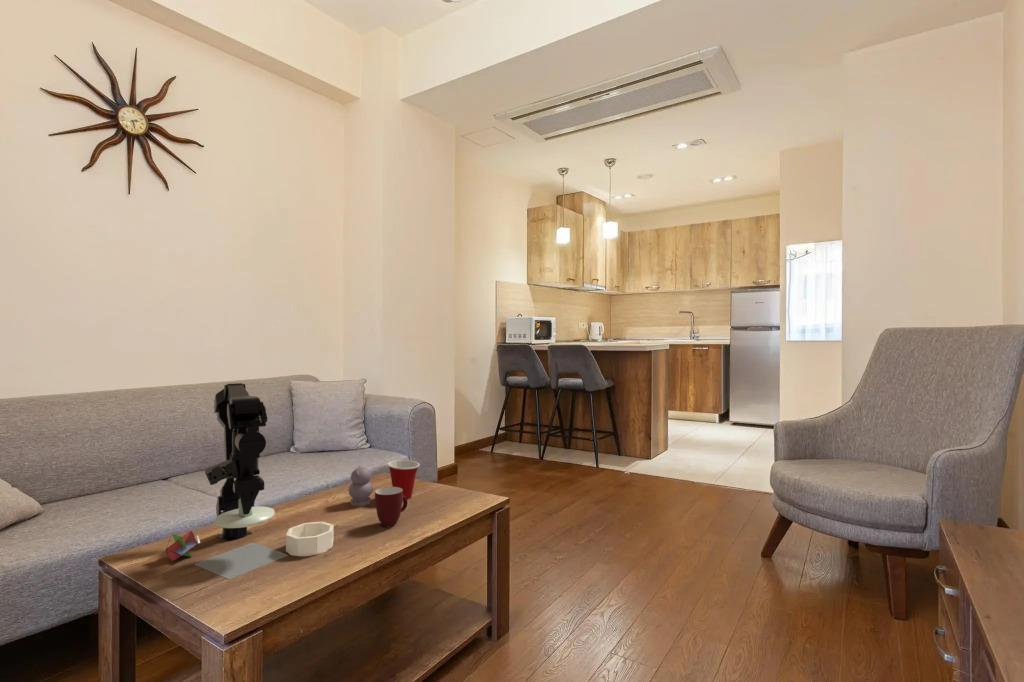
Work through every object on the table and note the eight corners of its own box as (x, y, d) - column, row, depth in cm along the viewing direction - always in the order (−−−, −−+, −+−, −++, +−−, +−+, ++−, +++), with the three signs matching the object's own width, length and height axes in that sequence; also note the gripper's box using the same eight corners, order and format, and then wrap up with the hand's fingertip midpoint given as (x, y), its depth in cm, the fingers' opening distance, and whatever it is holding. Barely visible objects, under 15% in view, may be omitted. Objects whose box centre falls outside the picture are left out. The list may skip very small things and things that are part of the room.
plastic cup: (415, 502, 169) (415, 467, 169) (383, 502, 169) (383, 466, 169) (422, 493, 180) (422, 459, 180) (392, 492, 180) (392, 459, 180)
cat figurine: (371, 507, 165) (371, 470, 165) (346, 508, 164) (346, 471, 163) (374, 498, 173) (374, 463, 173) (350, 499, 172) (350, 464, 172)
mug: (394, 515, 157) (394, 483, 157) (414, 520, 153) (414, 487, 152) (368, 526, 148) (368, 492, 148) (389, 531, 143) (389, 496, 143)
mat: (193, 566, 122) (193, 564, 122) (253, 544, 135) (253, 542, 135) (229, 581, 114) (229, 579, 114) (288, 557, 127) (288, 555, 127)
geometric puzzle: (167, 561, 119) (188, 528, 123) (150, 556, 122) (171, 523, 127) (192, 570, 124) (211, 537, 129) (175, 564, 127) (194, 532, 132)
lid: (203, 521, 122) (203, 501, 122) (255, 506, 133) (255, 488, 133) (234, 532, 116) (234, 511, 116) (285, 515, 127) (285, 496, 127)
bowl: (278, 551, 130) (278, 532, 130) (314, 537, 139) (314, 519, 139) (305, 561, 124) (305, 541, 124) (341, 545, 134) (341, 527, 134)
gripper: (205, 446, 128) (205, 507, 128) (209, 460, 112) (209, 531, 112) (254, 441, 134) (254, 500, 134) (264, 454, 118) (264, 521, 118)
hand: (245, 512), depth 125 cm, fingers closed on lid, 3 cm apart
